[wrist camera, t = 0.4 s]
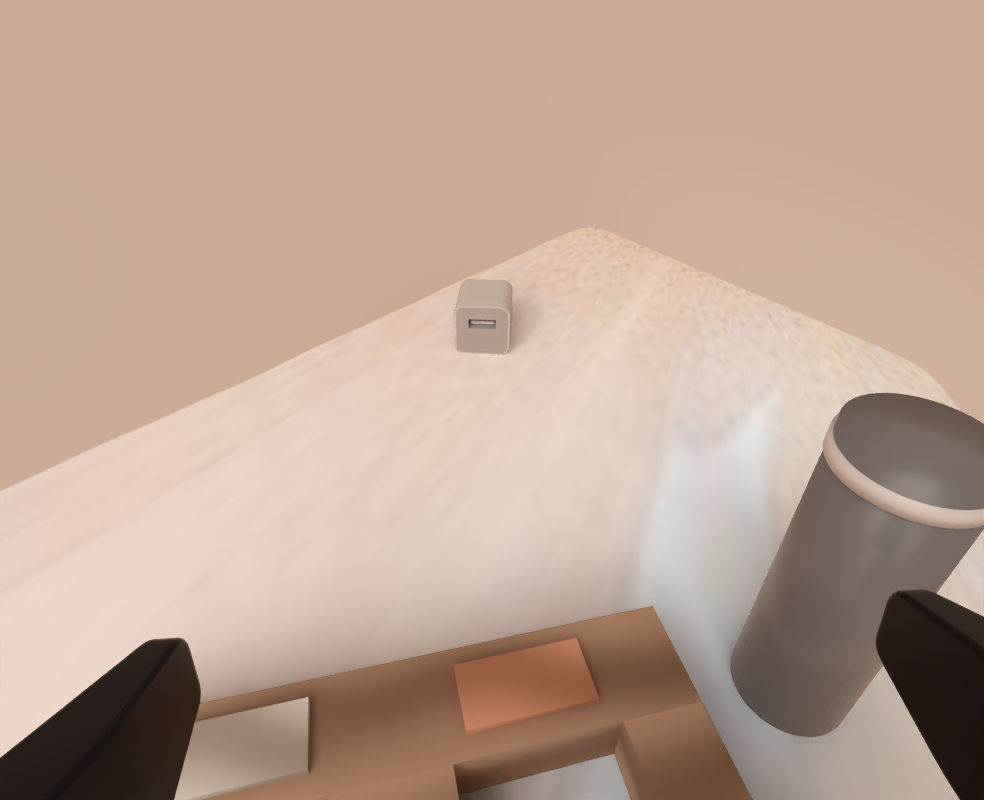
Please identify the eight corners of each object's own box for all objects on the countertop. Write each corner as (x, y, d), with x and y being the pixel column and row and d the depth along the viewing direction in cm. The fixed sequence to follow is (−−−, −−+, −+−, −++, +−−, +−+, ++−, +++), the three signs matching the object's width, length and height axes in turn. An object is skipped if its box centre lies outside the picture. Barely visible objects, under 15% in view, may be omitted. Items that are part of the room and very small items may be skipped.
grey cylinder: (875, 723, 23) (1072, 482, 15) (770, 752, 22) (921, 513, 14) (800, 620, 27) (928, 382, 19) (707, 641, 26) (801, 402, 18)
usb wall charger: (455, 353, 45) (453, 305, 42) (465, 309, 50) (463, 264, 48) (508, 355, 44) (510, 307, 42) (512, 311, 50) (513, 266, 48)
